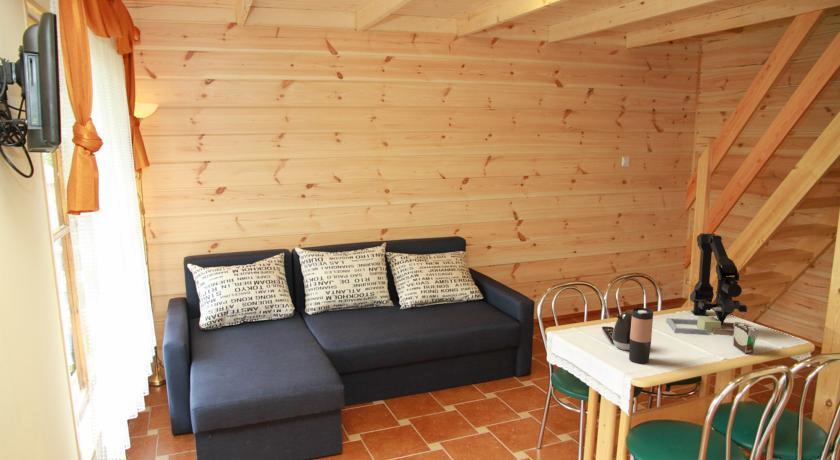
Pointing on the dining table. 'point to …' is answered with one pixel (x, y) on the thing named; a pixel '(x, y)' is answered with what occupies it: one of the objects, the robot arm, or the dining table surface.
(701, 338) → the dining table surface
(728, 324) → the walnut chute
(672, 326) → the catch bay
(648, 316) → the travel mug
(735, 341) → the food container
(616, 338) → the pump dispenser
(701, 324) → the olive block
